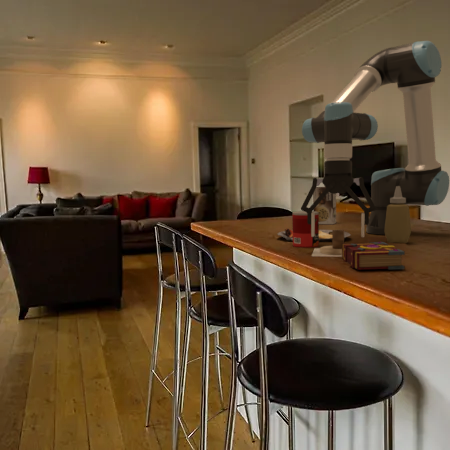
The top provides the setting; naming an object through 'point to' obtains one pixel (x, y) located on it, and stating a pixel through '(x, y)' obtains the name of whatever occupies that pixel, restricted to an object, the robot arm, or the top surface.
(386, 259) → the decorative book
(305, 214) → the canned food
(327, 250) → the lid
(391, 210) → the squeeze bottle
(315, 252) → the mat
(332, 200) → the coffee box
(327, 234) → the food plate
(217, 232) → the top surface
